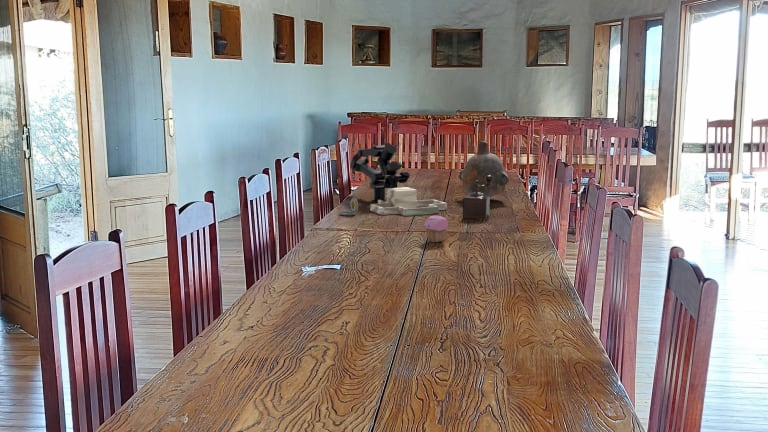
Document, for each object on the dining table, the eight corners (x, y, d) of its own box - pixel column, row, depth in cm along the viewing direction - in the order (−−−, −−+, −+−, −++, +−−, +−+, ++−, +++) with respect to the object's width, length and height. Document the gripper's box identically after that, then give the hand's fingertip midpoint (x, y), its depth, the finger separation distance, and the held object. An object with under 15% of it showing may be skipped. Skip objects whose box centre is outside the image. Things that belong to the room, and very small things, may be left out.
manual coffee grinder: (486, 220, 332) (488, 179, 328) (461, 218, 335) (463, 177, 332) (493, 214, 346) (494, 174, 343) (469, 212, 350) (470, 173, 346)
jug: (506, 197, 394) (508, 139, 388) (508, 204, 373) (511, 143, 367) (458, 196, 396) (460, 138, 390) (458, 203, 375) (460, 142, 369)
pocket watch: (336, 215, 339) (336, 193, 337) (346, 212, 347) (346, 190, 345) (352, 217, 336) (352, 194, 334) (362, 214, 343) (362, 192, 341)
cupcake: (433, 238, 294) (434, 212, 292) (452, 241, 289) (453, 215, 287) (419, 241, 287) (420, 215, 286) (438, 245, 282) (439, 218, 280)
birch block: (386, 207, 362) (387, 188, 360) (407, 205, 367) (407, 187, 365) (395, 210, 354) (395, 191, 352) (416, 208, 359) (416, 189, 357)
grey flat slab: (361, 207, 360) (361, 201, 359) (424, 202, 375) (424, 196, 375) (388, 217, 336) (388, 210, 335) (454, 211, 351) (454, 205, 351)
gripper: (373, 156, 362) (384, 182, 354) (408, 155, 370) (419, 180, 362) (366, 171, 370) (376, 197, 362) (400, 169, 378) (411, 194, 371)
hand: (396, 192), depth 364 cm, fingers closed
